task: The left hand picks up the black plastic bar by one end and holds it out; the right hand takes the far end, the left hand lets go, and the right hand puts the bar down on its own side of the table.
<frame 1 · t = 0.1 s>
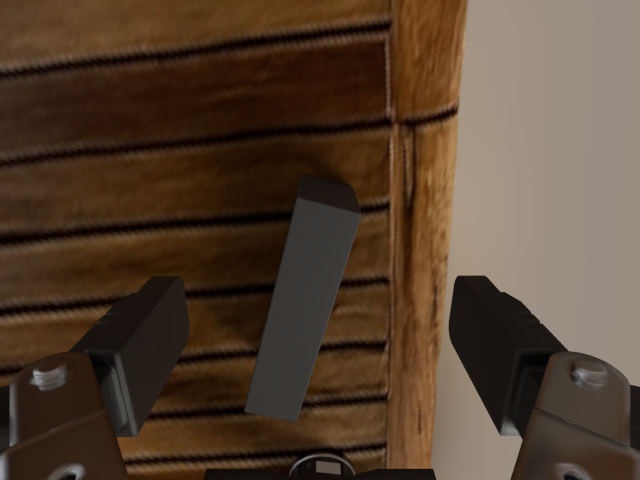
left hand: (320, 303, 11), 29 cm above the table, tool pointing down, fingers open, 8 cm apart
bar: (301, 277, 43), on the table
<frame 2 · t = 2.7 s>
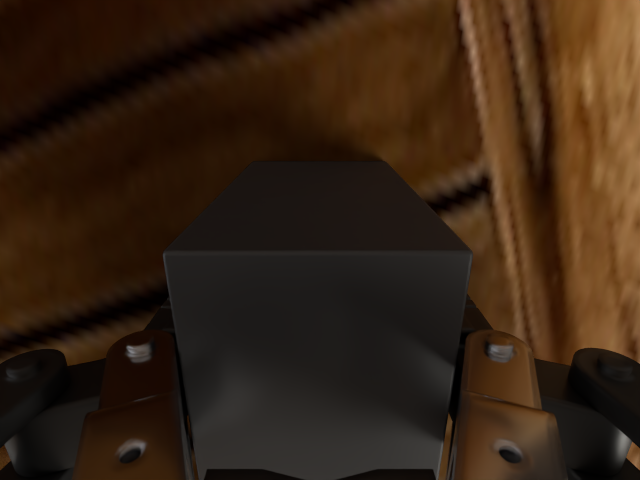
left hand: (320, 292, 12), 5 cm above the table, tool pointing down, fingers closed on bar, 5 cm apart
bar: (319, 388, 19), on the table, touching left hand
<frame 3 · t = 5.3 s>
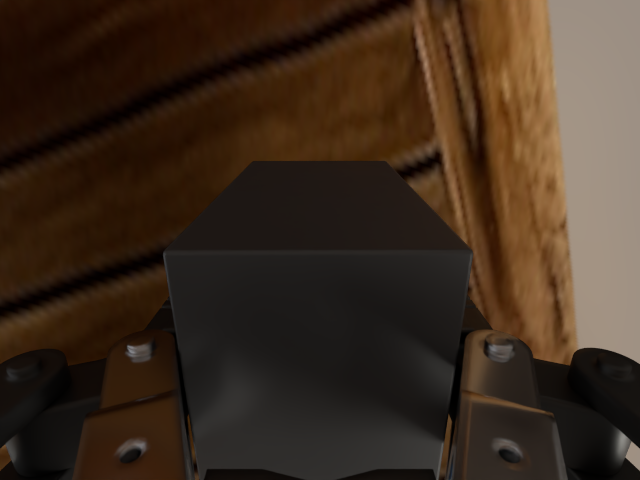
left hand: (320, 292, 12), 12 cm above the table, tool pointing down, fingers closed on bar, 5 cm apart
bar: (319, 388, 19), point 7 cm above the table, touching left hand
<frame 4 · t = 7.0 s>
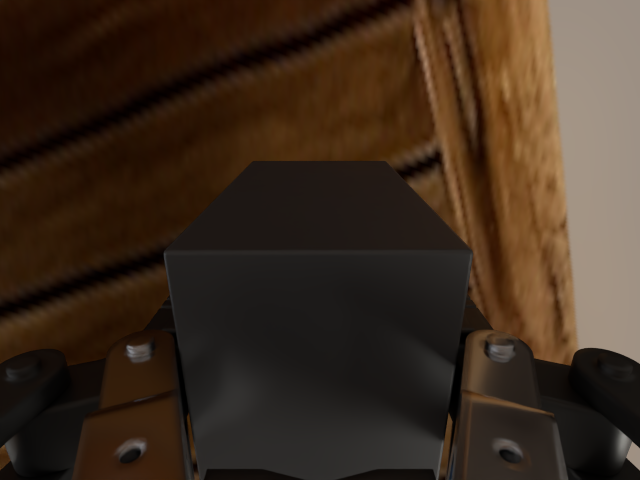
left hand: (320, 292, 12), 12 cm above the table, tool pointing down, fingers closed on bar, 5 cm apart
bar: (319, 387, 19), point 7 cm above the table, touching left hand, right hand
when the left hand's fingers open (12 cm above the table, at t = 8.2 s): bar stays where it is, held by the right hand.
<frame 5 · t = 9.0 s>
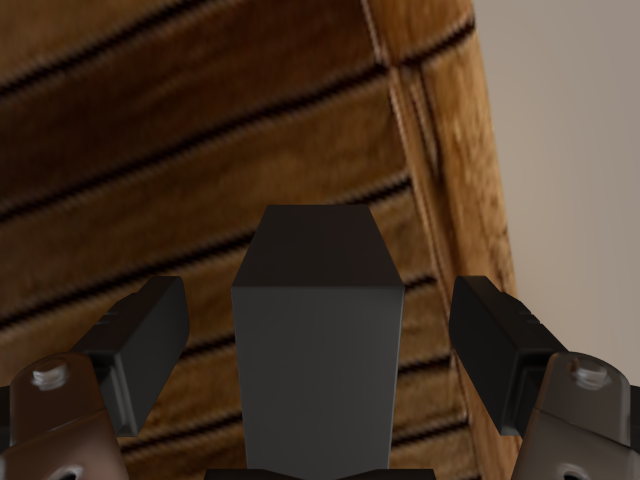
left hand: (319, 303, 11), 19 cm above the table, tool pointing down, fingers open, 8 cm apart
bar: (317, 376, 25), point 10 cm above the table, touching right hand
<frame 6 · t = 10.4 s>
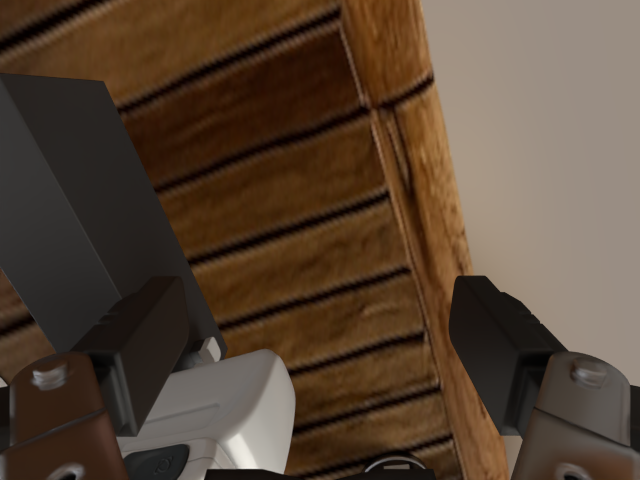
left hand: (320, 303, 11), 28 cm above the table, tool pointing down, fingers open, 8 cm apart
bar: (142, 241, 30), point 9 cm above the table, touching right hand
when the right hand's fingers open (5 cm above the table, at t = 14.1 s): bar drops 2 cm, on the table.
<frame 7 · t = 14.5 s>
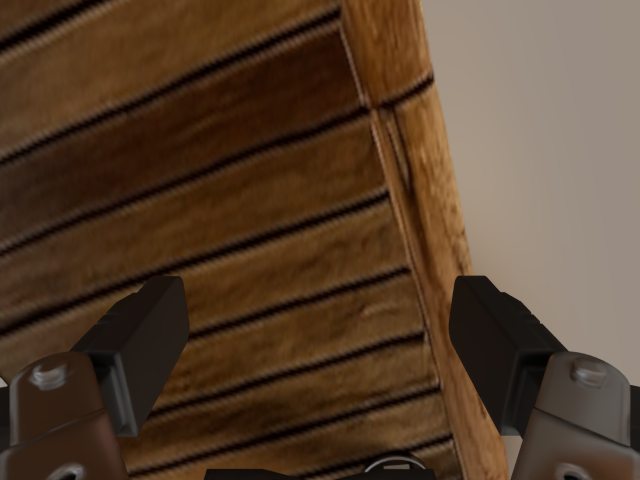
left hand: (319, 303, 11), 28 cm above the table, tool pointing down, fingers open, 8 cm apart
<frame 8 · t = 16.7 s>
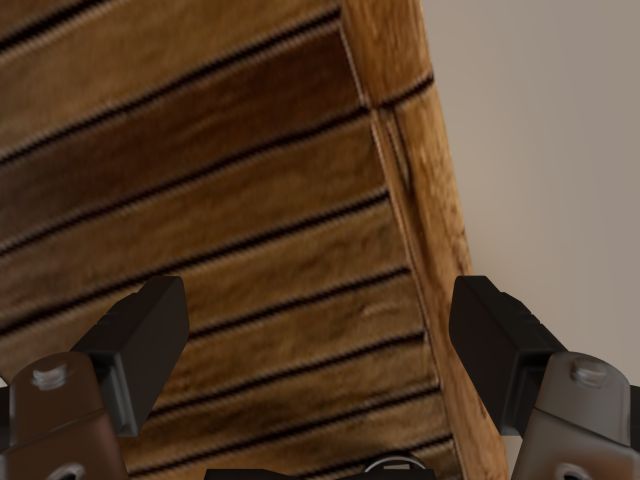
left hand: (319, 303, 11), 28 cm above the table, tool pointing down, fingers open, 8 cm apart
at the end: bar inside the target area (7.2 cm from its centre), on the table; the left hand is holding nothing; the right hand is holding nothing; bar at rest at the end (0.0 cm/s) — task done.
